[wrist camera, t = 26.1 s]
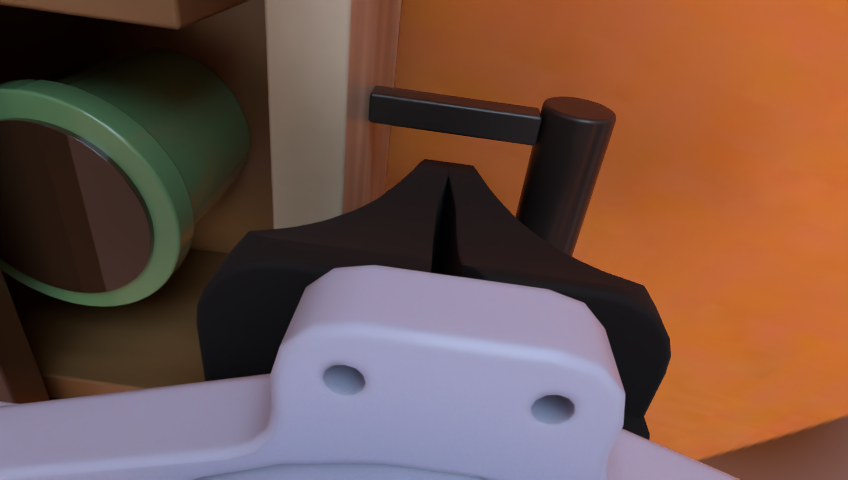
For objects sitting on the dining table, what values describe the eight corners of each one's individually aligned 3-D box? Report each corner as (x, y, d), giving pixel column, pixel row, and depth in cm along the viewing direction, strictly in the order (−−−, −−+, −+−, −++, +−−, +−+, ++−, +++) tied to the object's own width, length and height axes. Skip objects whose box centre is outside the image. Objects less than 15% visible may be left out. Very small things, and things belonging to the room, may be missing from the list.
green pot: (46, 81, 14) (-133, 155, 10) (187, -2, 13) (46, 43, 9) (164, 226, 16) (57, 336, 12) (294, 168, 15) (225, 270, 11)
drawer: (607, -48, 12) (722, -11, 7) (511, 309, 18) (529, 494, 13) (-118, -150, 13) (-618, -198, 7) (17, 239, 18) (-192, 390, 13)
